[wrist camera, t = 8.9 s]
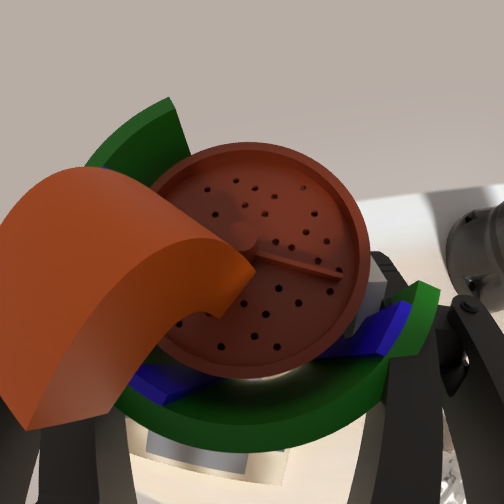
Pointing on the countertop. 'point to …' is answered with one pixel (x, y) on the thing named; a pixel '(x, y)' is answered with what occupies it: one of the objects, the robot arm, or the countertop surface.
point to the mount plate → (208, 456)
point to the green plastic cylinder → (196, 294)
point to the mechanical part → (451, 480)
